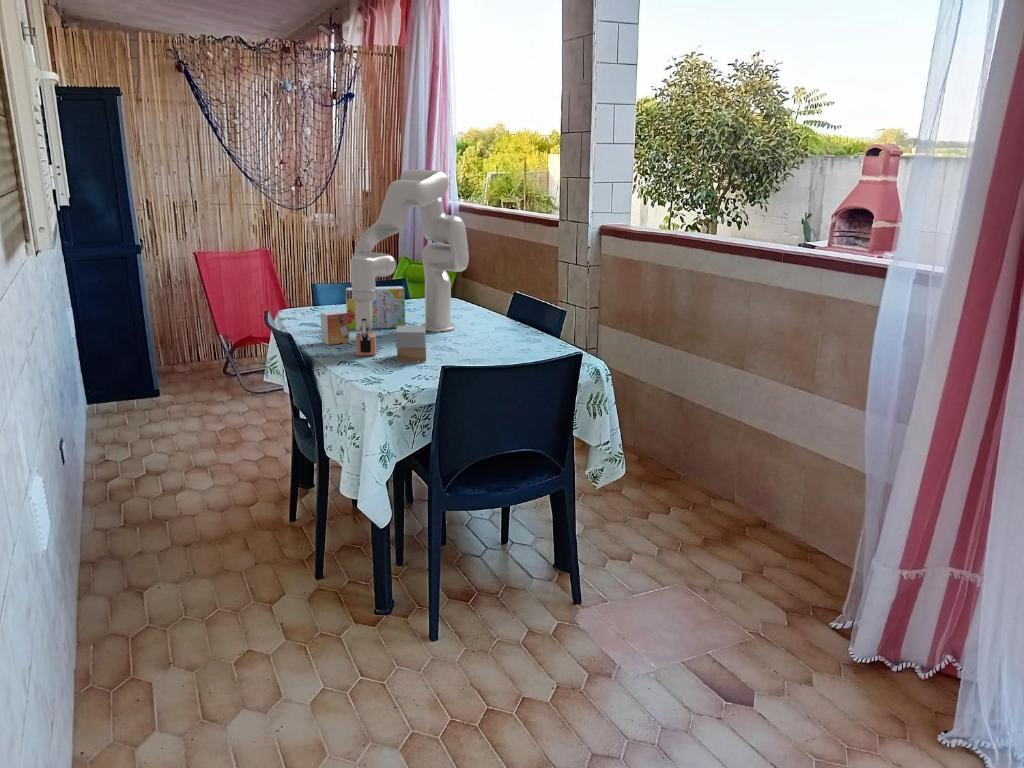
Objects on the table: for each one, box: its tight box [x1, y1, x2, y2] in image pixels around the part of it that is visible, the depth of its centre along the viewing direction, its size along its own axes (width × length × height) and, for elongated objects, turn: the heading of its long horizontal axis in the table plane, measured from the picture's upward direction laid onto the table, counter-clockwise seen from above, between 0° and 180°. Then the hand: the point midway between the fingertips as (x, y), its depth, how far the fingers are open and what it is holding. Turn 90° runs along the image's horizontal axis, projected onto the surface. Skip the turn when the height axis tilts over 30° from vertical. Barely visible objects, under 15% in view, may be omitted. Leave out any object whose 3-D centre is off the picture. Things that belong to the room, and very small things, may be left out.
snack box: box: [345, 285, 406, 330], centre depth 288 cm, size 21×6×15 cm, turn 104°
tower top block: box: [395, 325, 427, 349], centre depth 247 cm, size 9×9×5 cm
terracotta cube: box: [355, 332, 377, 356], centre depth 252 cm, size 6×6×6 cm
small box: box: [320, 310, 350, 346], centre depth 265 cm, size 8×6×10 cm
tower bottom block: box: [396, 342, 427, 363], centre depth 248 cm, size 9×9×5 cm
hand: (366, 348), depth 253 cm, fingers closed on terracotta cube, 6 cm apart
